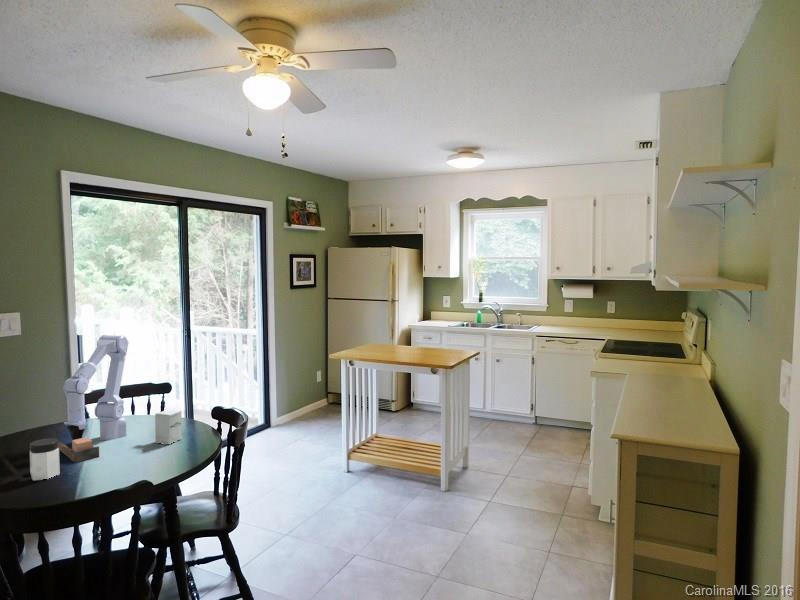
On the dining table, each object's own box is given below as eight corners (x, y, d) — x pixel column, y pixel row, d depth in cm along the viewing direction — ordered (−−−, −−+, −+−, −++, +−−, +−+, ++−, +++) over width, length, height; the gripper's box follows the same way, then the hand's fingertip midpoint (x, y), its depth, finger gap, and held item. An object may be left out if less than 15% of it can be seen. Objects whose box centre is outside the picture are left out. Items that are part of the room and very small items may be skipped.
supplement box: (169, 445, 211) (168, 415, 210) (155, 443, 213) (154, 413, 213) (182, 439, 218) (181, 410, 217) (168, 437, 220) (167, 408, 220)
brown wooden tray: (86, 444, 211) (85, 432, 210) (105, 458, 196) (104, 445, 196) (51, 452, 202) (51, 439, 201) (68, 467, 187) (68, 453, 187)
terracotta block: (87, 452, 199) (86, 437, 199) (92, 456, 195) (92, 440, 195) (72, 455, 195) (72, 440, 195) (77, 459, 191) (77, 443, 191)
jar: (24, 481, 174) (23, 446, 173) (35, 472, 182) (34, 439, 181) (54, 479, 176) (53, 444, 175) (64, 470, 184) (63, 437, 183)
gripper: (58, 407, 200) (59, 441, 201) (70, 414, 191) (71, 450, 192) (78, 404, 206) (79, 437, 206) (91, 411, 196) (92, 446, 197)
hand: (77, 443), depth 199 cm, fingers closed
